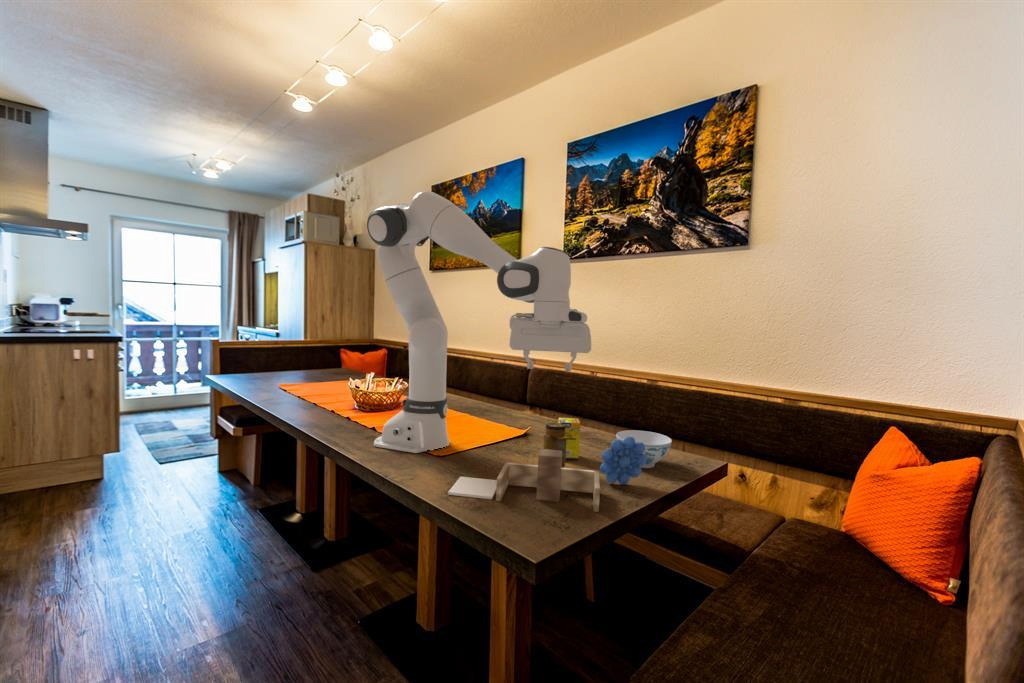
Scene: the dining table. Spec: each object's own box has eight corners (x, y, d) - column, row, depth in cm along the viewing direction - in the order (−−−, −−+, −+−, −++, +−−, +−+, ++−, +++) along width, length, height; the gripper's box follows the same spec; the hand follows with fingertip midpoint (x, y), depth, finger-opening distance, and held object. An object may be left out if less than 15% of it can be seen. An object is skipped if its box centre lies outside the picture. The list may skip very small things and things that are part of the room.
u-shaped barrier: (495, 500, 98) (496, 478, 98) (504, 482, 109) (505, 462, 109) (598, 511, 95) (599, 488, 94) (597, 491, 106) (598, 471, 105)
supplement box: (579, 461, 128) (580, 423, 127) (557, 460, 128) (559, 422, 127) (576, 454, 134) (578, 418, 133) (556, 453, 134) (558, 417, 133)
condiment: (561, 464, 125) (563, 421, 124) (573, 475, 116) (575, 429, 116) (536, 465, 123) (538, 421, 122) (546, 476, 115) (548, 429, 114)
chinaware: (677, 463, 129) (678, 437, 129) (659, 477, 117) (661, 448, 117) (627, 452, 138) (628, 427, 138) (606, 464, 126) (607, 437, 126)
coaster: (448, 494, 100) (448, 492, 100) (460, 478, 110) (460, 476, 110) (491, 499, 99) (492, 496, 99) (500, 483, 109) (500, 480, 109)
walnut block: (536, 499, 100) (538, 455, 99) (538, 491, 105) (540, 448, 104) (558, 502, 99) (561, 457, 98) (560, 493, 104) (562, 450, 103)
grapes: (639, 478, 116) (642, 432, 115) (649, 488, 109) (652, 439, 108) (594, 477, 115) (597, 431, 114) (601, 487, 108) (603, 438, 108)
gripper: (507, 312, 110) (505, 368, 111) (592, 315, 107) (590, 373, 108) (512, 312, 116) (510, 366, 117) (592, 315, 113) (590, 370, 114)
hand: (549, 369), depth 112 cm, fingers open, 8 cm apart
